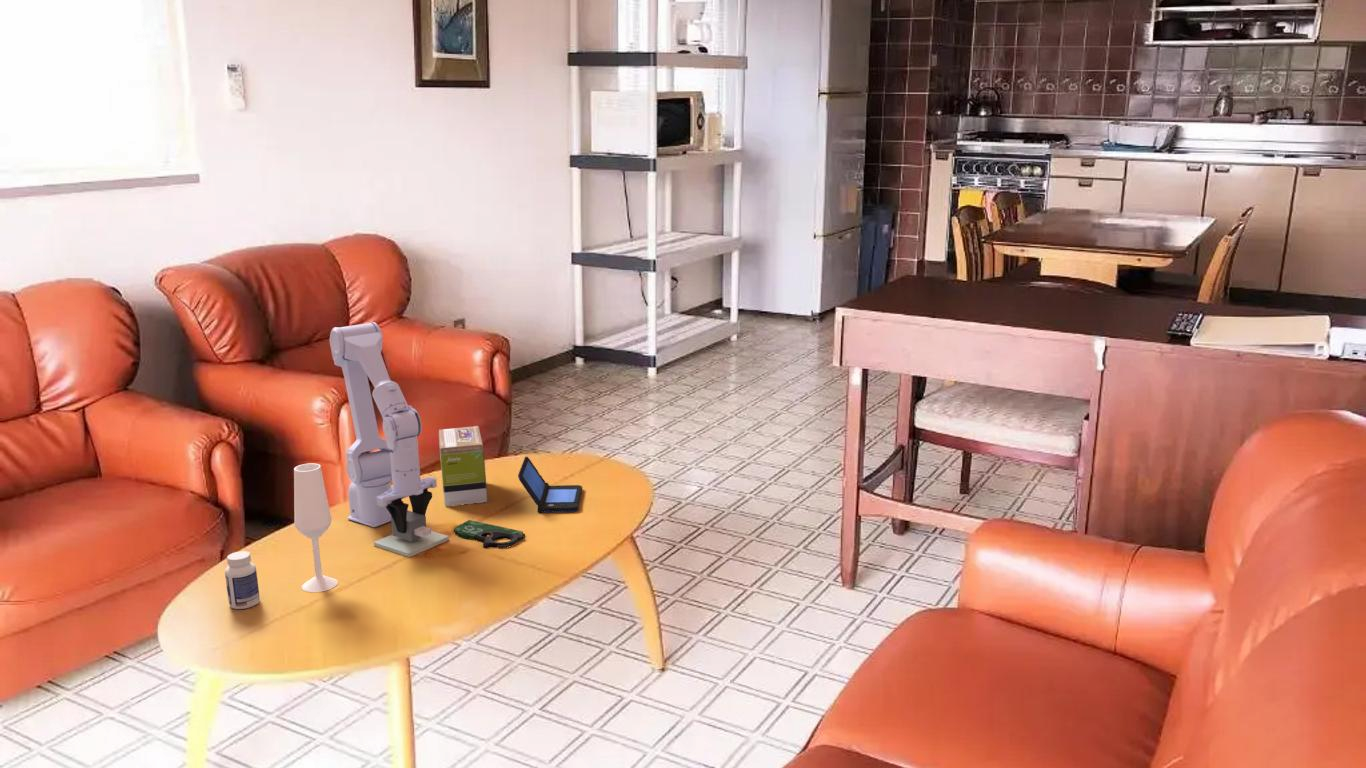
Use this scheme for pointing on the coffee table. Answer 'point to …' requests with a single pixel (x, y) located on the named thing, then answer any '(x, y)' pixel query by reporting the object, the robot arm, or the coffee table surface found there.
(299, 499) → the champagne flute
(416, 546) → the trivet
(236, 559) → the pill bottle
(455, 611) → the coffee table surface
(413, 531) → the connector plug
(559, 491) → the handheld game console
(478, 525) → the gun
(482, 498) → the tea box
